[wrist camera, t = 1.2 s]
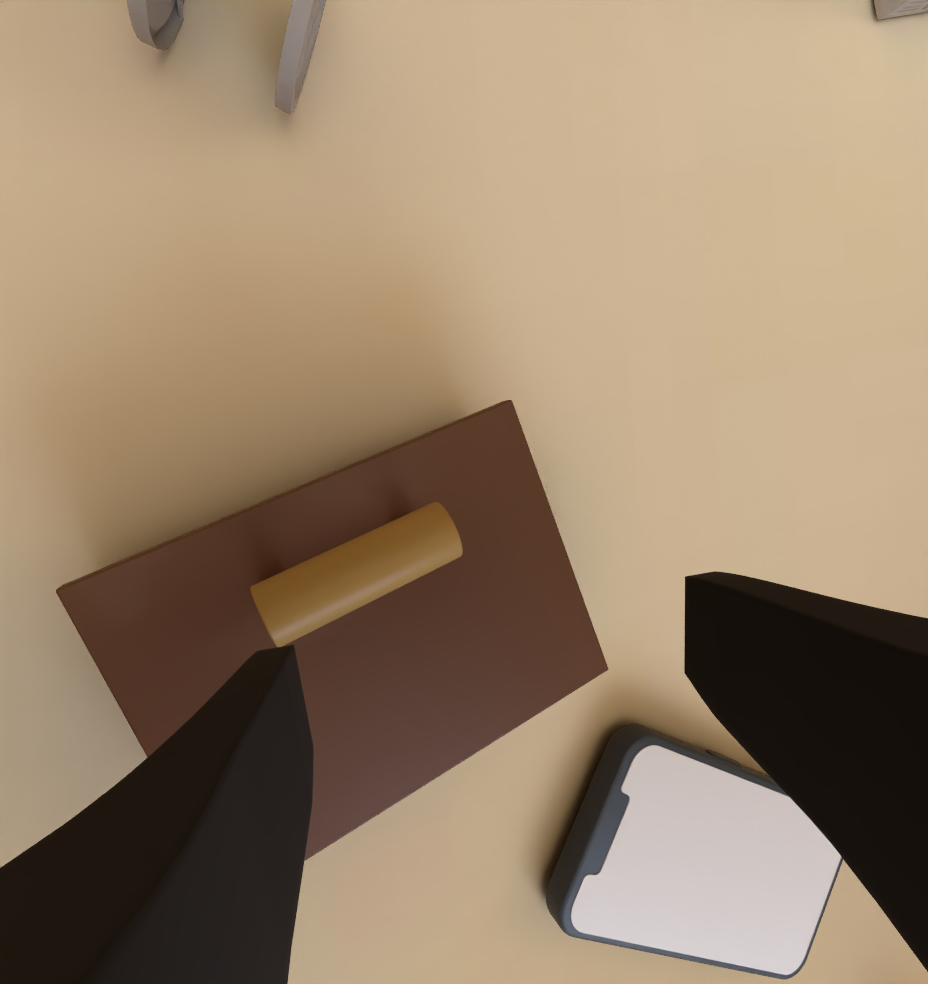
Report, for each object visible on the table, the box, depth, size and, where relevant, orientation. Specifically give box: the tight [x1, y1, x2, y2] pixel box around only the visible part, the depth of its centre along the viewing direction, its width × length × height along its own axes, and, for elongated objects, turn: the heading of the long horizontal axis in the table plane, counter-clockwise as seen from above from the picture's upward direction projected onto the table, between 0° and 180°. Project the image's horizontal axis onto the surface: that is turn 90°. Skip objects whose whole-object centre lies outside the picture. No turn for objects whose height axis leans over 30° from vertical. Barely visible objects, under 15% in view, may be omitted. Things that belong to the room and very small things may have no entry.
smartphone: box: [546, 724, 843, 979], centre depth 27 cm, size 9×2×16 cm
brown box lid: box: [56, 400, 608, 861], centre depth 16 cm, size 10×13×4 cm
